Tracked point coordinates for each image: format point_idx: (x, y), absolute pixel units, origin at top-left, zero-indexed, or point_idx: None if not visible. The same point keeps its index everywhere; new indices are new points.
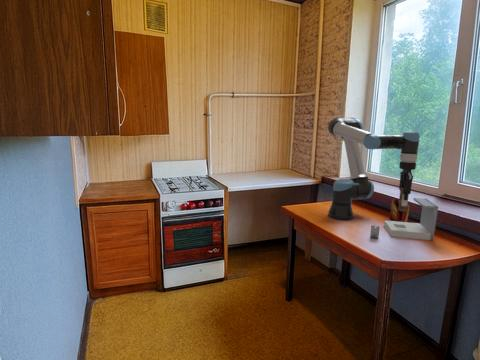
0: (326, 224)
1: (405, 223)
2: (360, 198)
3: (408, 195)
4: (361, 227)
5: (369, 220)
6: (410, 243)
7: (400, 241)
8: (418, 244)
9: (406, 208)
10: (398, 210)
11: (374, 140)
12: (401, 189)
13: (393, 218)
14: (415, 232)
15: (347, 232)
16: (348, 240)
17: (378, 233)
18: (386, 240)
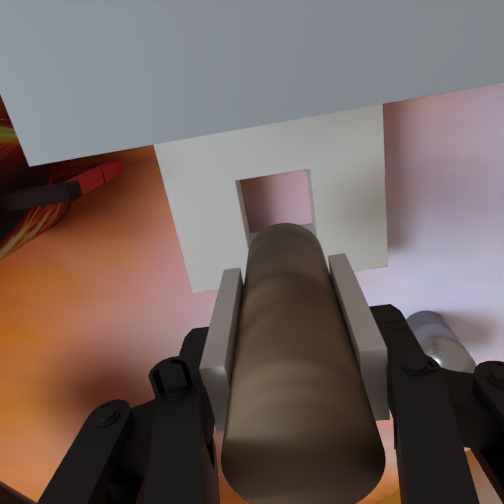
0: None
1: (192, 165)
2: (19, 494)
3: (379, 334)
4: None
5: (130, 340)
6: (467, 151)
7: (446, 205)
8: (473, 103)
9: (306, 238)
10: (19, 221)
11: None
12: (338, 496)
13: (53, 222)
14: (381, 117)
15: (384, 429)
16: None
17: (451, 332)
18: (449, 275)
